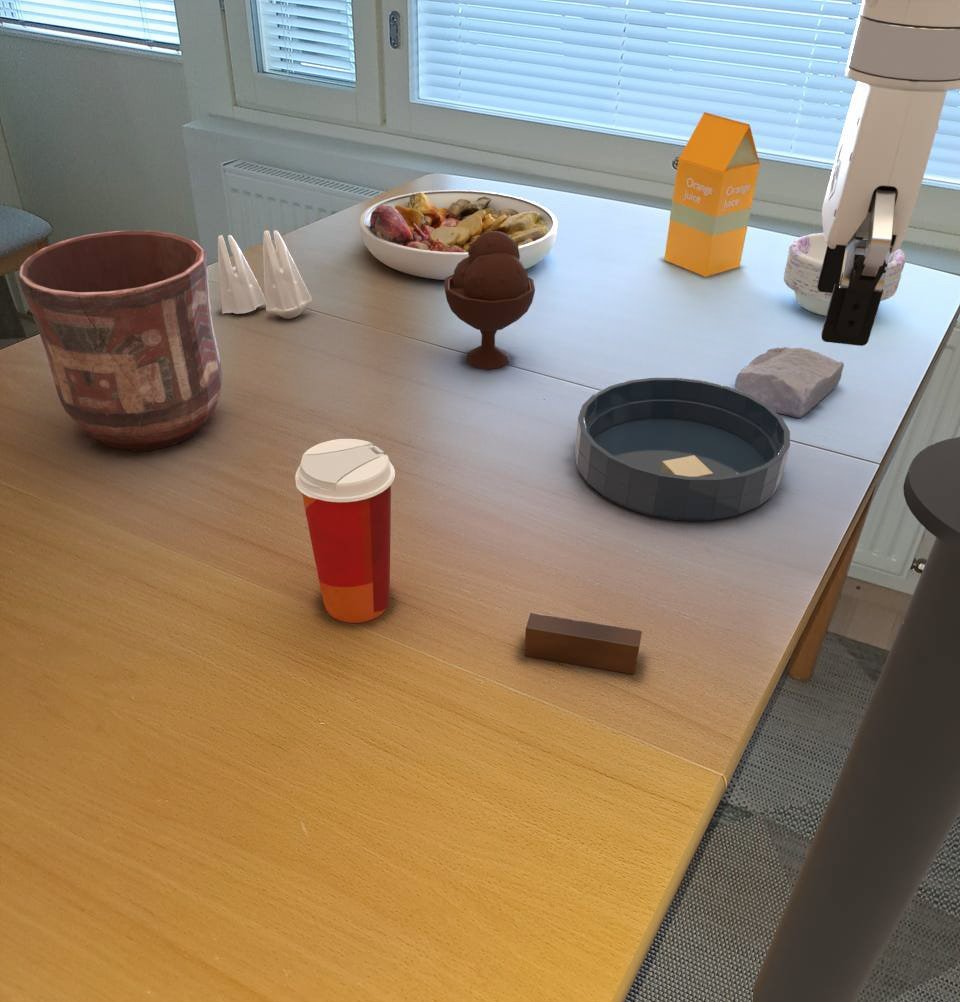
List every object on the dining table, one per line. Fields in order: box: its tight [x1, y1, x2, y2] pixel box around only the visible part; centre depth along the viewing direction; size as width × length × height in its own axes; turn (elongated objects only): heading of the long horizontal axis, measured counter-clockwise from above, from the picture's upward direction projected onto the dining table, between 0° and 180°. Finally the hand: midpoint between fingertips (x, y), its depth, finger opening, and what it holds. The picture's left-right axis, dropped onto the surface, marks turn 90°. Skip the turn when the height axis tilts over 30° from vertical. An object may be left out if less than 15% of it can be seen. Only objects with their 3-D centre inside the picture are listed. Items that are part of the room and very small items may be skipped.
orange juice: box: [663, 111, 761, 278], centre depth 138 cm, size 8×9×20 cm
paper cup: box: [294, 438, 396, 624], centre depth 77 cm, size 8×8×14 cm
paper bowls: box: [783, 232, 907, 317], centre depth 130 cm, size 15×15×8 cm
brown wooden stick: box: [523, 612, 643, 675], centre depth 76 cm, size 9×2×3 cm, turn 77°
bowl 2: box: [574, 377, 791, 522], centre depth 98 cm, size 21×21×5 cm
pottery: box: [17, 230, 223, 452], centre depth 98 cm, size 18×18×18 cm
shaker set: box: [217, 229, 313, 319], centre depth 124 cm, size 12×4×11 cm, turn 75°
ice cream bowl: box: [444, 231, 536, 371], centre depth 113 cm, size 11×11×15 cm
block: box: [661, 455, 713, 477], centre depth 92 cm, size 4×4×4 cm
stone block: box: [734, 346, 845, 419], centre depth 112 cm, size 12×5×10 cm
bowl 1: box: [359, 189, 559, 281], centre depth 144 cm, size 30×30×8 cm
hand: (840, 316), depth 71 cm, fingers open, 9 cm apart
